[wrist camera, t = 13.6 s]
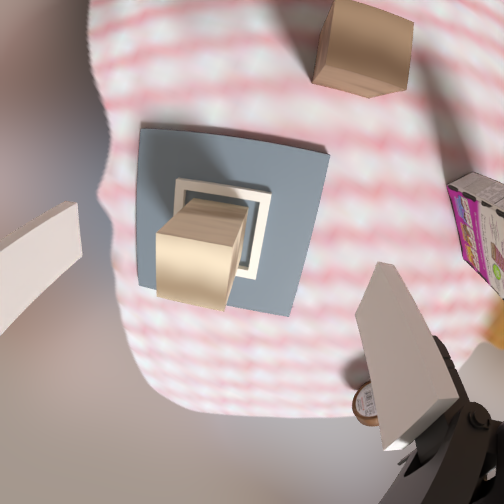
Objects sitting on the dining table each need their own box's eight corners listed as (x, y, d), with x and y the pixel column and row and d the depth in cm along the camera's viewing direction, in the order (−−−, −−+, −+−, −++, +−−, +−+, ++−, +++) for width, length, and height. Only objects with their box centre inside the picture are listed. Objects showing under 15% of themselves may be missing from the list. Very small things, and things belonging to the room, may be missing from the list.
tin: (353, 395, 43) (359, 435, 36) (347, 387, 42) (352, 428, 35) (431, 358, 38) (447, 395, 31) (428, 348, 37) (445, 387, 30)
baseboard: (144, 128, 28) (140, 128, 27) (328, 154, 27) (330, 155, 27) (141, 281, 37) (138, 285, 36) (289, 312, 36) (289, 316, 35)
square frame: (178, 177, 29) (175, 179, 29) (271, 192, 29) (271, 194, 28) (173, 259, 34) (171, 263, 33) (256, 276, 33) (255, 279, 33)
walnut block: (320, 33, 22) (335, -4, 13) (376, 48, 22) (413, 22, 13) (311, 83, 25) (325, 64, 16) (368, 98, 24) (406, 90, 15)
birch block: (193, 198, 30) (156, 232, 21) (248, 207, 30) (232, 247, 21) (189, 247, 33) (156, 296, 24) (240, 257, 33) (224, 311, 24)
